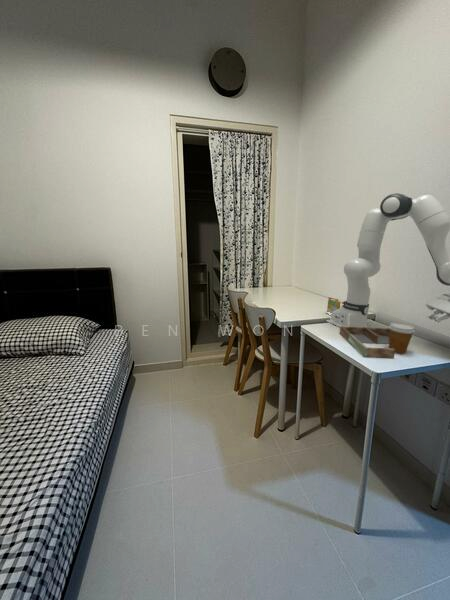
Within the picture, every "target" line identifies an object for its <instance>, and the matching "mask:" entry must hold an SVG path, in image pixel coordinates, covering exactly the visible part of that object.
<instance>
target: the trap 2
mask: <svg viewBox="0 0 450 600" xmlns="http://www.w3.org/2000/svg"><path fill="white" fill-rule="evenodd" d="M376 345H389V337H388V336H381V335H378V341H377V344H376Z"/></svg>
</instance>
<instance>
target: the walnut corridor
mask: <svg viewBox="0 0 450 600" xmlns="http://www.w3.org/2000/svg"><path fill="white" fill-rule="evenodd" d="M339 334H340V336H341V337H343V339H345V341H347V342H348V344H349V345H351V347H353V349H355V350H356V352H358V353H359V355H361V356H362V357H363V358H373V359H375V358H376V359H377V358H378V359H395V355H396V353H395V349H393V348H389V347H388V348H387V347H367V346H366V345H365V344H364V343H361V342H360V341H359V340H358V339H357V338H355V337H354V336H353V335H352V334H357V335H365V336H366V337H368V338H369V339H370V340H371V341H373V342H374V343H375V345H378V344H377V341H378V335H381V336H388V337H389V334H390V329H389V327H388V328H386V327H370V326H369V327H368V326H367V327H345V326H340V327H339Z"/></svg>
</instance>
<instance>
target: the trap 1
mask: <svg viewBox="0 0 450 600" xmlns="http://www.w3.org/2000/svg"><path fill="white" fill-rule="evenodd" d="M352 335H353V336H354V337H355V338H357V339H358V340H359V341H360V342H361V343H362V344H375V343H374V342H373V341H371V340H370V339H369V338H368V337H366V336H365V335H357V334H352ZM375 345H376V344H375Z"/></svg>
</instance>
